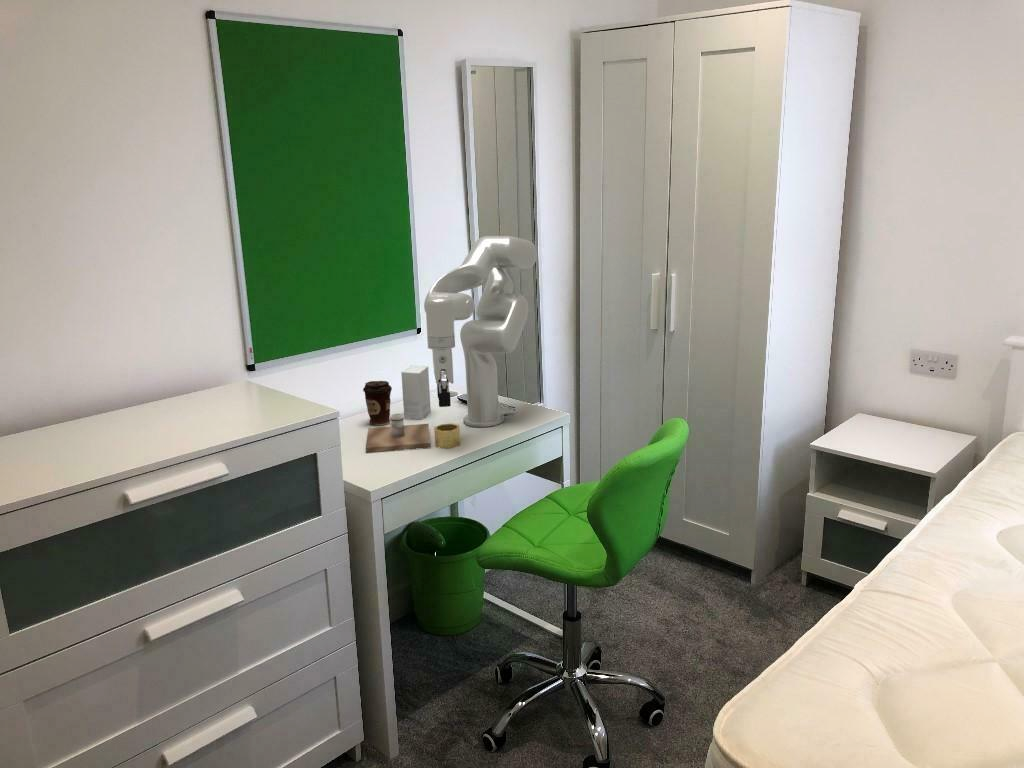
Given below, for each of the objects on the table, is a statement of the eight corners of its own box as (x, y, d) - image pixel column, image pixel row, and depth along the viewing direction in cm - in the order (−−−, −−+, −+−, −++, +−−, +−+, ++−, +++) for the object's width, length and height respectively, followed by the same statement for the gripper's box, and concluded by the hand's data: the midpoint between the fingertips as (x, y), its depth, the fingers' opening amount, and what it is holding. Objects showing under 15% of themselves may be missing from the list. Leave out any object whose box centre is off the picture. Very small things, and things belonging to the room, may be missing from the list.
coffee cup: (377, 429, 253) (373, 388, 250) (360, 424, 259) (356, 383, 255) (399, 422, 259) (396, 381, 256) (382, 417, 265) (379, 377, 261)
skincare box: (413, 411, 270) (410, 364, 266) (432, 412, 268) (429, 365, 264) (403, 419, 262) (399, 371, 258) (423, 420, 260) (419, 371, 256)
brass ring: (459, 439, 241) (458, 422, 240) (461, 447, 234) (460, 430, 233) (435, 441, 240) (434, 424, 239) (435, 449, 233) (434, 432, 232)
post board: (428, 428, 252) (427, 404, 250) (430, 447, 235) (428, 422, 233) (368, 432, 250) (366, 408, 248) (366, 452, 233) (363, 427, 231)
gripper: (456, 347, 221) (459, 409, 225) (453, 335, 238) (455, 393, 242) (428, 348, 220) (431, 410, 224) (426, 337, 237) (429, 395, 241)
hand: (444, 401), depth 233 cm, fingers open, 9 cm apart
